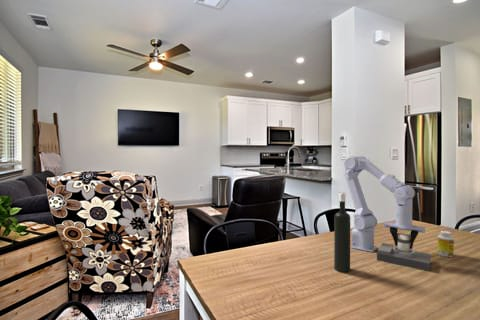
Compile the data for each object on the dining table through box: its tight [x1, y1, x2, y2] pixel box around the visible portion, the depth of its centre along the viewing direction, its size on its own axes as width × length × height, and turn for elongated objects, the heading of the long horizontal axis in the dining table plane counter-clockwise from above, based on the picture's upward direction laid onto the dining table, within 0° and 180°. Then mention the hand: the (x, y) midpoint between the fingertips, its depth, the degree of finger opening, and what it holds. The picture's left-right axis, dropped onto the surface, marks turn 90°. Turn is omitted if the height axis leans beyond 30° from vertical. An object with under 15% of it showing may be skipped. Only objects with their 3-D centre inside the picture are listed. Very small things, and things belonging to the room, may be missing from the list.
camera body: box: [376, 242, 432, 272], centre depth 110 cm, size 18×12×4 cm, turn 52°
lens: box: [396, 232, 411, 253], centre depth 109 cm, size 5×5×7 cm
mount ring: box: [393, 246, 416, 257], centre depth 110 cm, size 8×8×2 cm
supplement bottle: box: [437, 230, 455, 258], centre depth 115 cm, size 6×6×10 cm
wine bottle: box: [333, 191, 351, 273], centre depth 101 cm, size 6×6×30 cm
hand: (403, 247), depth 110 cm, fingers closed on lens, 5 cm apart
